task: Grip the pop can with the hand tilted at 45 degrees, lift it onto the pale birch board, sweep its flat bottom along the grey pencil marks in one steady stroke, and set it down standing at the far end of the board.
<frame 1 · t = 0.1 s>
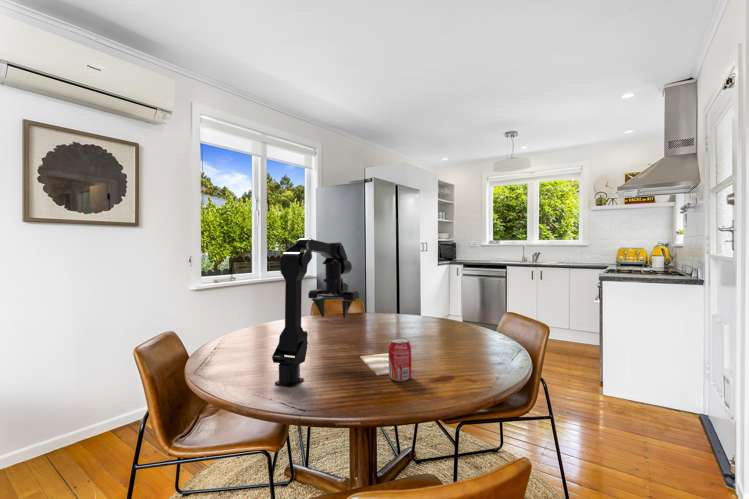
hand: (333, 317, 140), 15 cm above the table, tool pointing down, fingers open, 9 cm apart
board: (384, 364, 131), on the table
soda can: (400, 379, 117), on the table
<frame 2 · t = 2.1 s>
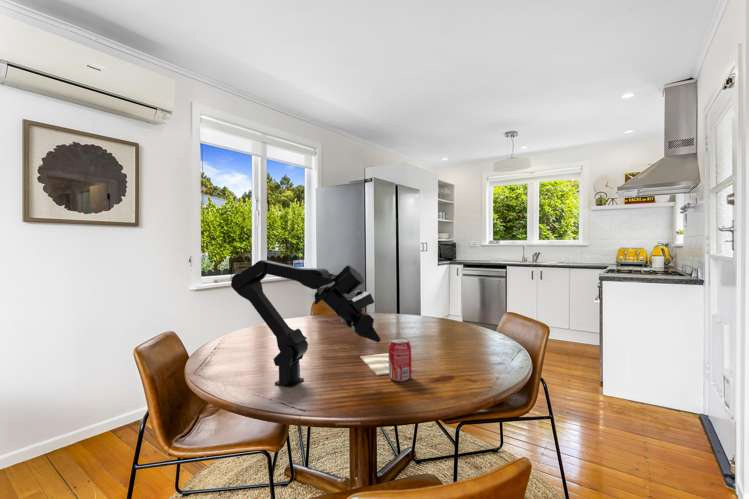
hand: (374, 337, 114), 13 cm above the table, tool tilted 45°, fingers open, 9 cm apart
nothing on the table moved.
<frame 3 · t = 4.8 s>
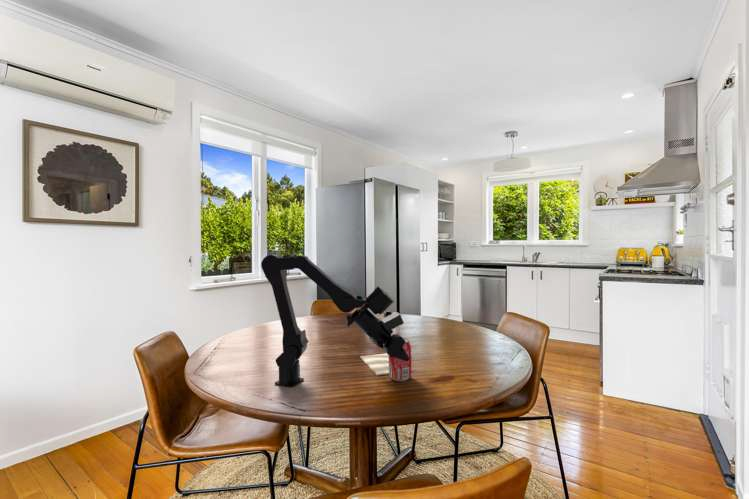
hand: (404, 356, 117), 7 cm above the table, tool tilted 45°, fingers closed on soda can, 7 cm apart
soda can: (400, 379, 117), on the table, touching gripper
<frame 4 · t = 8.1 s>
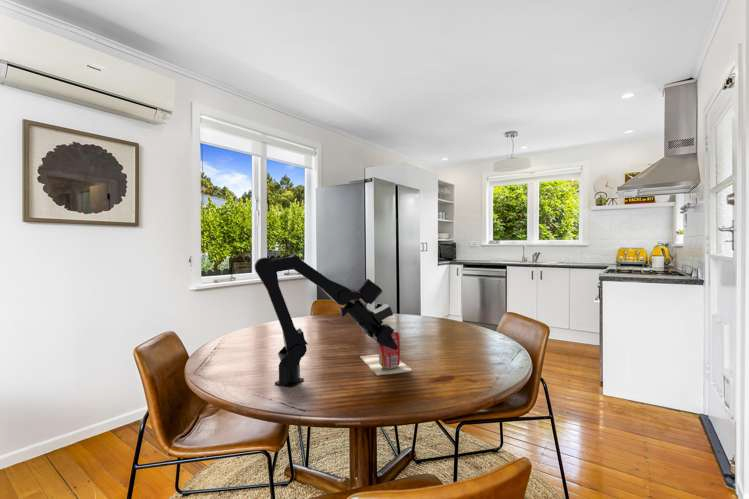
hand: (393, 346, 126), 8 cm above the table, tool tilted 45°, fingers closed on soda can, 7 cm apart
soda can: (389, 366, 125), point 1 cm above the table, touching gripper
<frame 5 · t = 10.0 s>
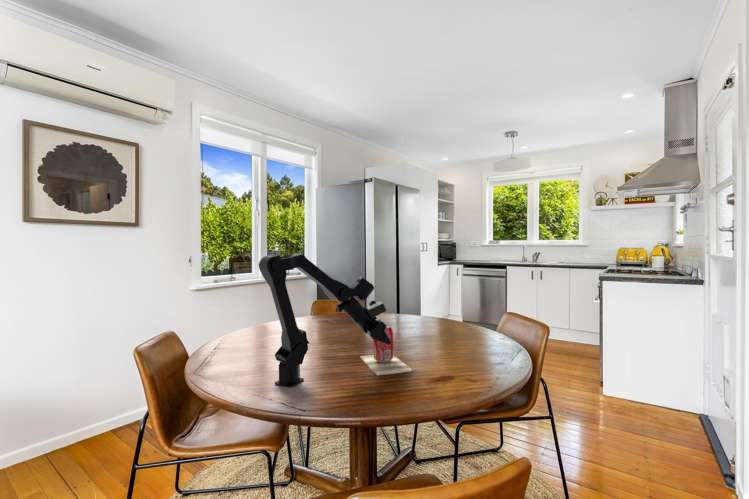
hand: (386, 341, 132), 8 cm above the table, tool tilted 45°, fingers closed on soda can, 7 cm apart
soda can: (383, 360, 132), point 1 cm above the table, touching gripper
when the fingers open (7 cm above the table, at t = 11.3 s): soda can stays where it is, resting on board.
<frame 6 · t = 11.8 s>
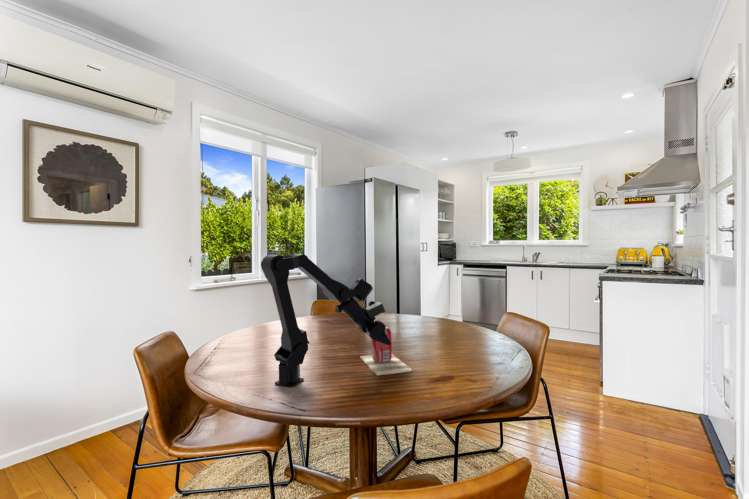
hand: (385, 340, 133), 7 cm above the table, tool tilted 45°, fingers open, 9 cm apart
soda can: (381, 361, 133), resting on board
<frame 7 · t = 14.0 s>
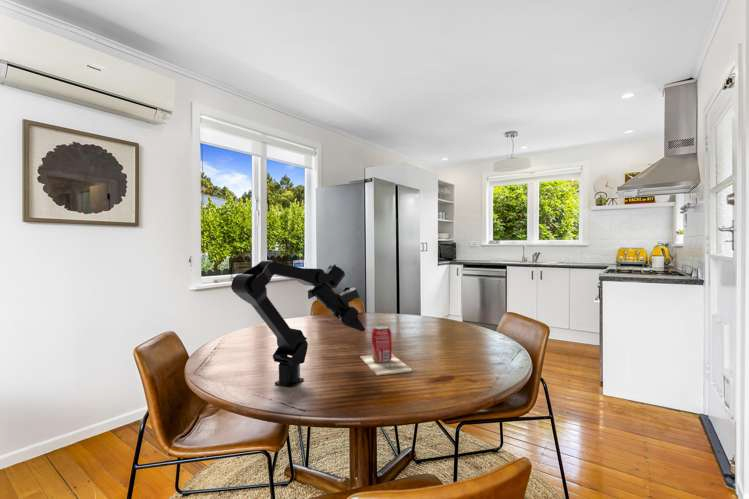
hand: (360, 327, 130), 13 cm above the table, tool tilted 45°, fingers open, 9 cm apart
nothing on the table moved.
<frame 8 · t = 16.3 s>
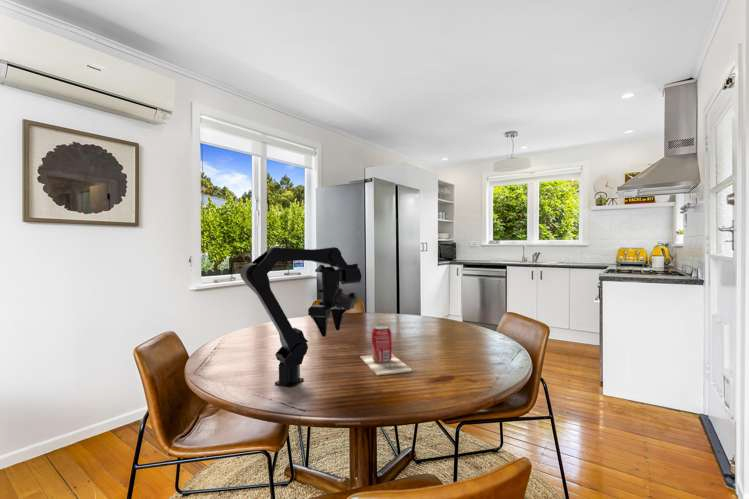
hand: (331, 333, 122), 13 cm above the table, tool pointing down, fingers open, 9 cm apart
nothing on the table moved.
at the end: soda can inside the target area on the board (0.2 cm from its centre), point 0.4 cm above the board's base; soda can tilted 0°; soda can touching board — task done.
